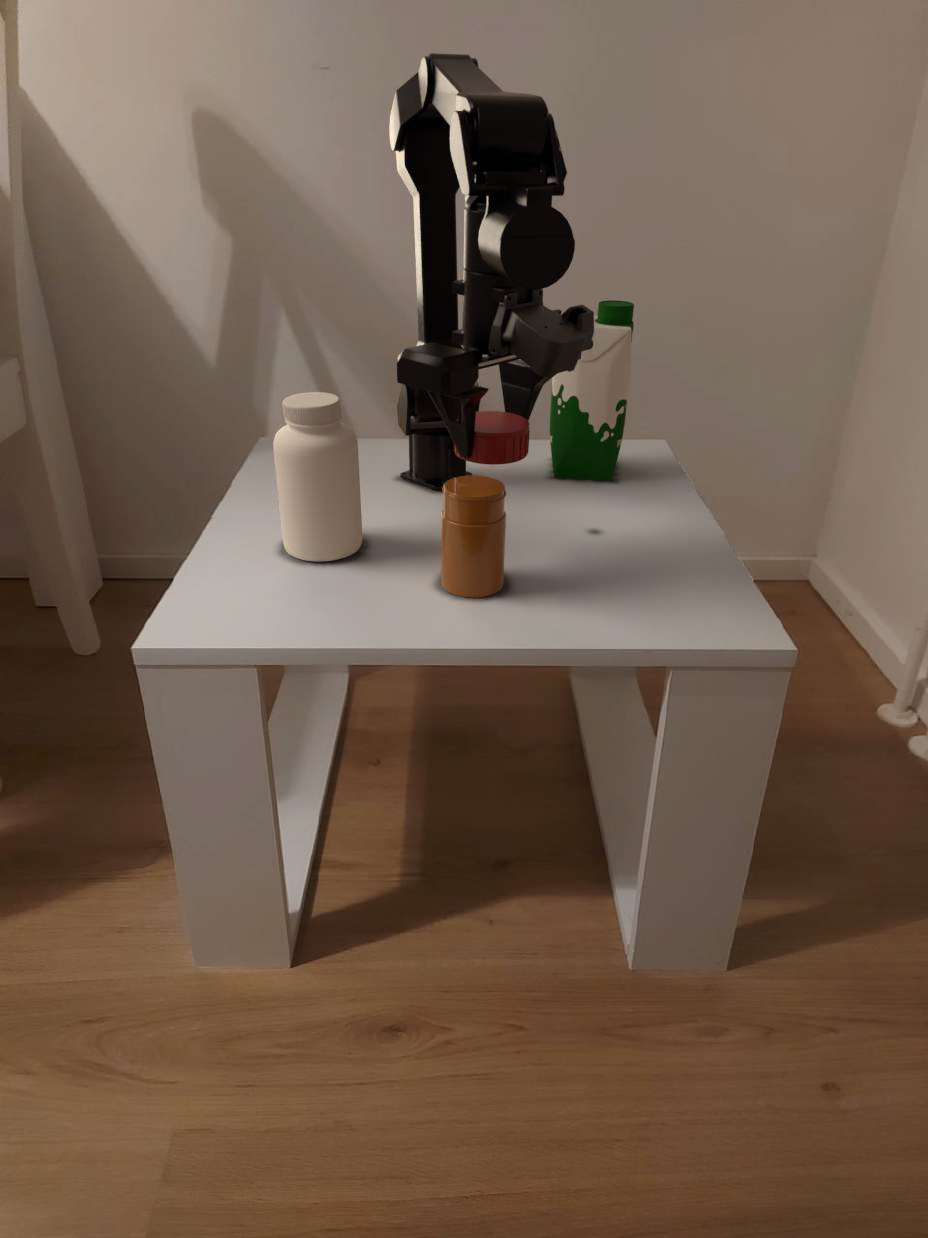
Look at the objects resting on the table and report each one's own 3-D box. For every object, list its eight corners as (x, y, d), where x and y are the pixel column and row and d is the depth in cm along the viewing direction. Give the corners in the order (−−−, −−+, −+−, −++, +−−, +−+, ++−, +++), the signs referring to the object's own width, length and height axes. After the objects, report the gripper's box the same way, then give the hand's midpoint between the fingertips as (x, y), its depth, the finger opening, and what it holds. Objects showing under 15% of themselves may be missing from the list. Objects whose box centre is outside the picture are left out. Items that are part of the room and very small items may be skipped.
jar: (428, 583, 81) (427, 485, 76) (469, 564, 84) (471, 469, 80) (474, 604, 77) (477, 502, 73) (516, 583, 81) (520, 485, 76)
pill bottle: (267, 556, 85) (251, 404, 78) (307, 526, 92) (296, 384, 85) (340, 569, 83) (330, 414, 76) (376, 537, 90) (370, 392, 82)
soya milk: (619, 484, 104) (638, 310, 95) (544, 479, 105) (555, 307, 96) (618, 461, 112) (636, 297, 102) (548, 456, 113) (559, 294, 103)
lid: (438, 450, 81) (438, 419, 79) (491, 435, 85) (492, 406, 83) (489, 470, 76) (491, 438, 75) (543, 453, 81) (545, 423, 79)
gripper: (496, 295, 62) (489, 499, 70) (640, 269, 74) (620, 446, 82) (390, 276, 69) (394, 465, 76) (538, 255, 80) (528, 420, 88)
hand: (490, 448), depth 81 cm, fingers closed on lid, 7 cm apart
